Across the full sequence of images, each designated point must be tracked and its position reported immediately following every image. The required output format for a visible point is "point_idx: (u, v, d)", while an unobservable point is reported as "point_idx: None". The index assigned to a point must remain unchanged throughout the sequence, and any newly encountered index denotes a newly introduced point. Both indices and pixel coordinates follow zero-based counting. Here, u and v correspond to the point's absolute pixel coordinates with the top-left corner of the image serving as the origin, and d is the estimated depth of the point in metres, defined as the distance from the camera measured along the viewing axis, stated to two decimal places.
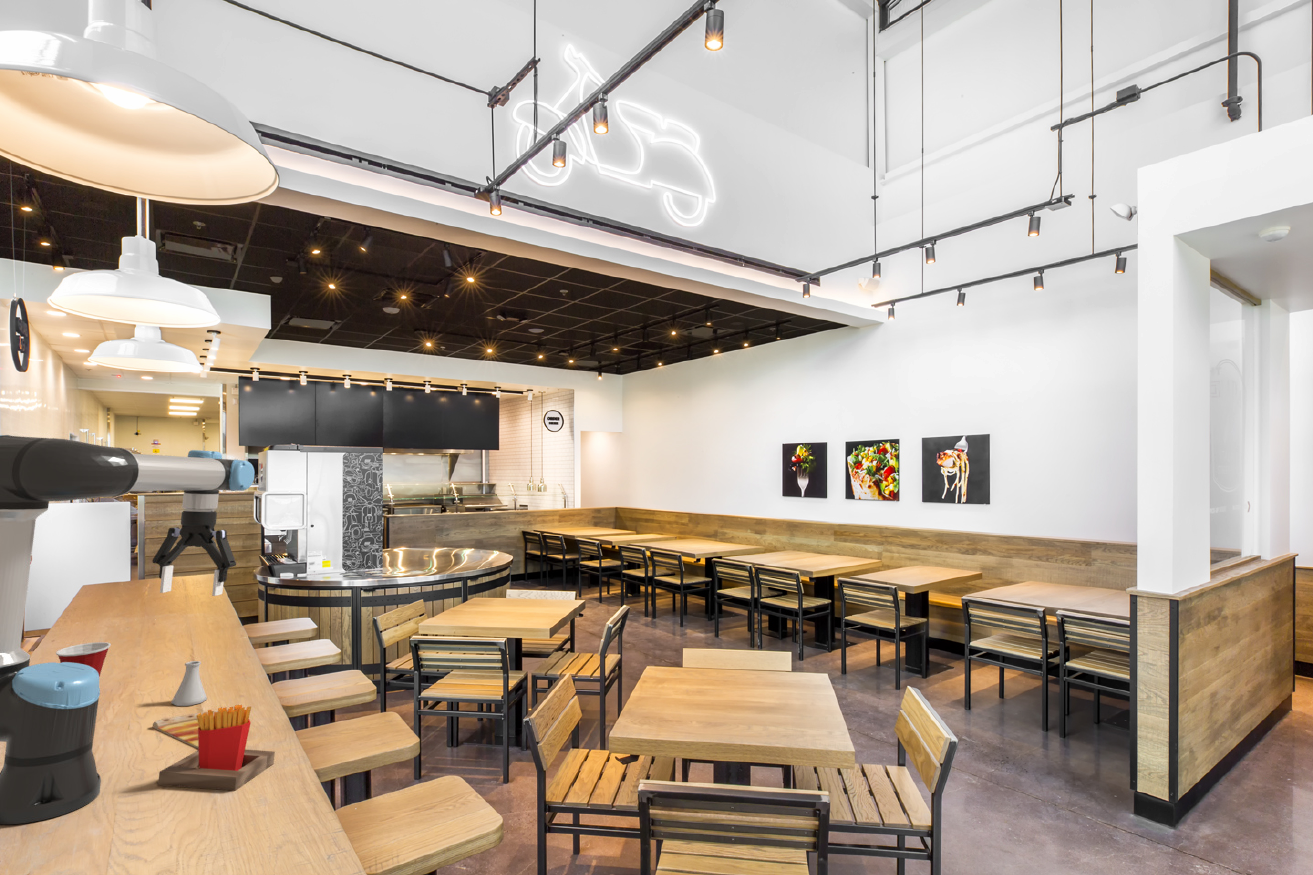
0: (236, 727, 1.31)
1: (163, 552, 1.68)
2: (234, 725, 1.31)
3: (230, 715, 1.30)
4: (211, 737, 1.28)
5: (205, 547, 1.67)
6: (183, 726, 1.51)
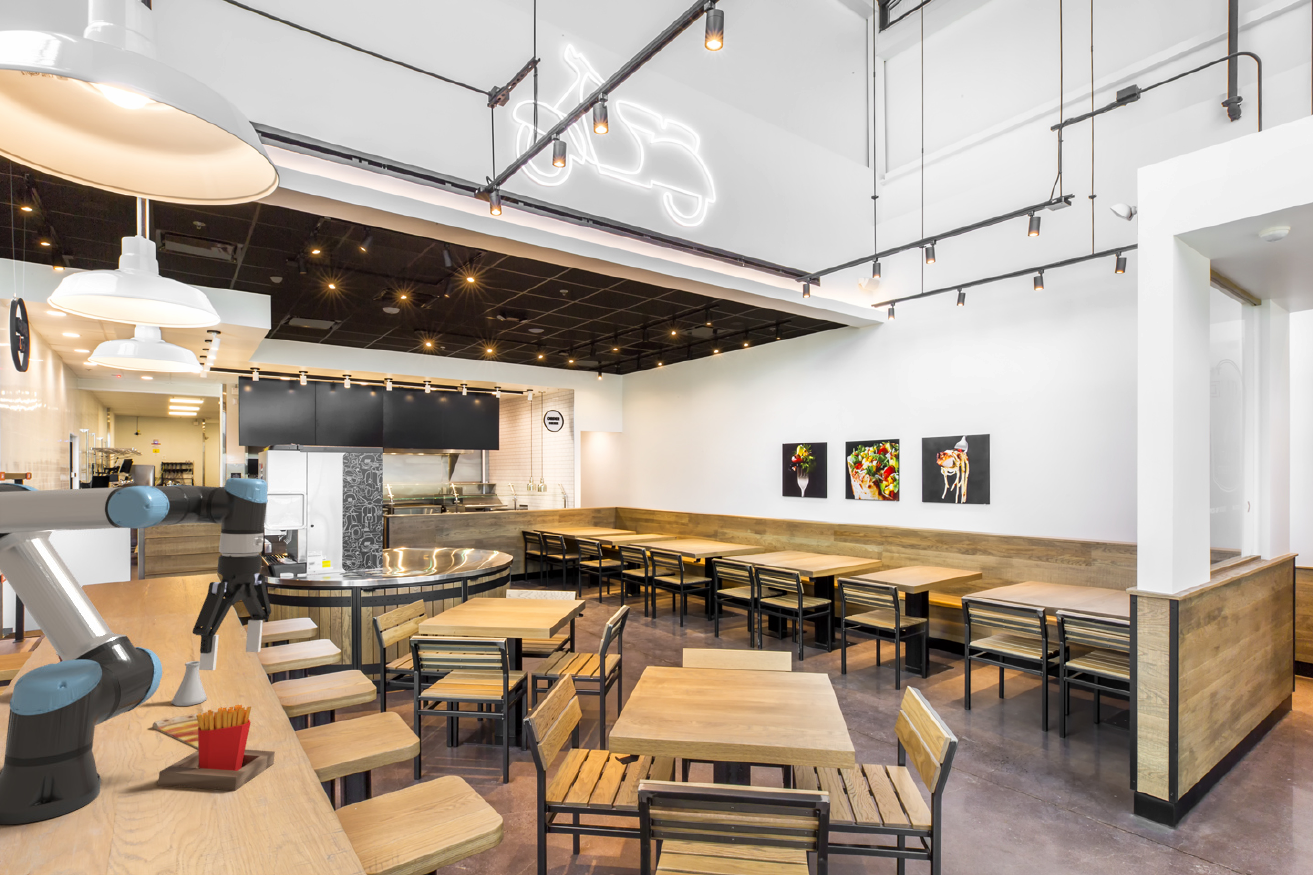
0: (236, 727, 1.31)
1: None
2: (234, 725, 1.31)
3: (230, 715, 1.30)
4: (211, 737, 1.28)
5: None
6: (183, 727, 1.51)
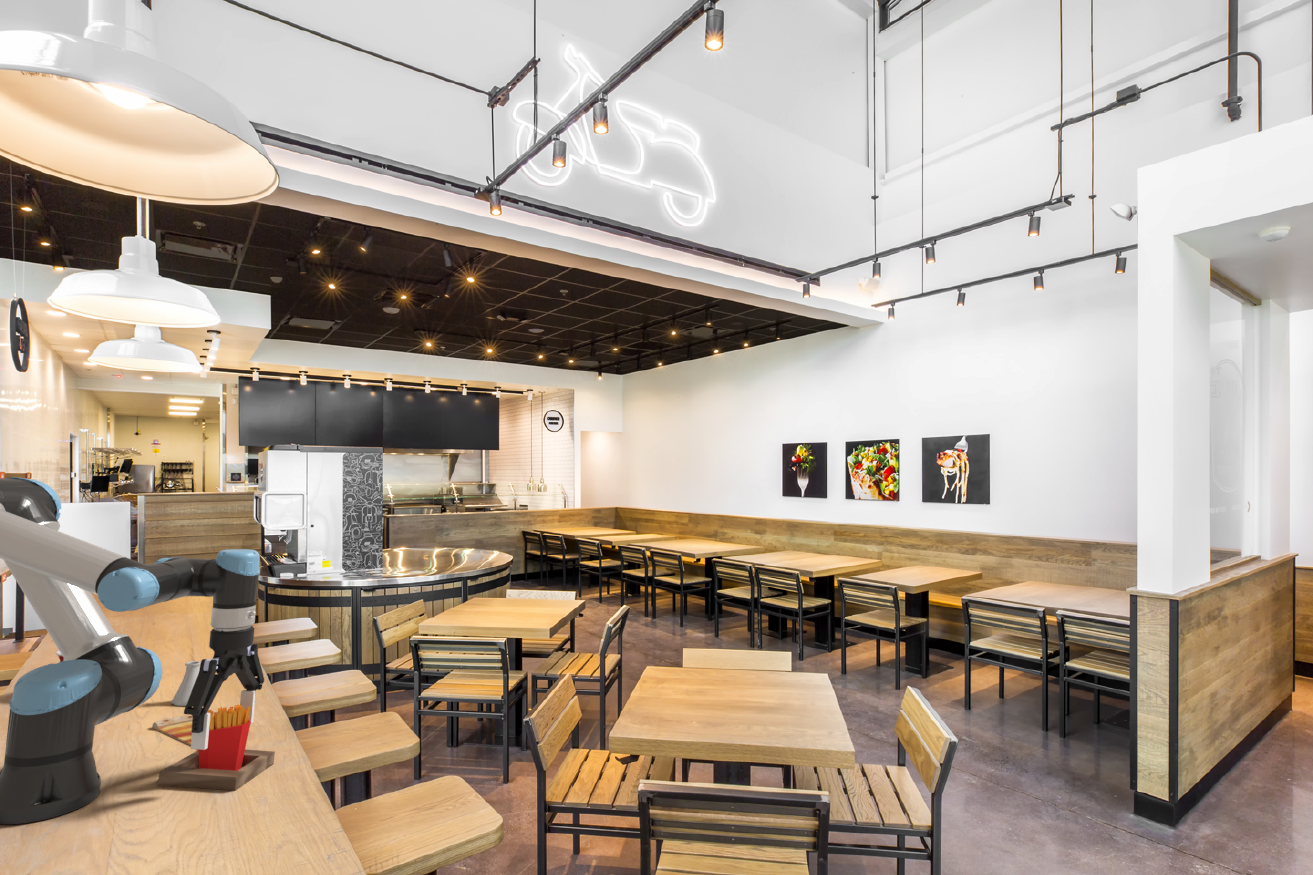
0: (236, 727, 1.31)
1: None
2: (234, 725, 1.31)
3: (230, 715, 1.30)
4: (211, 737, 1.28)
5: None
6: (183, 727, 1.51)
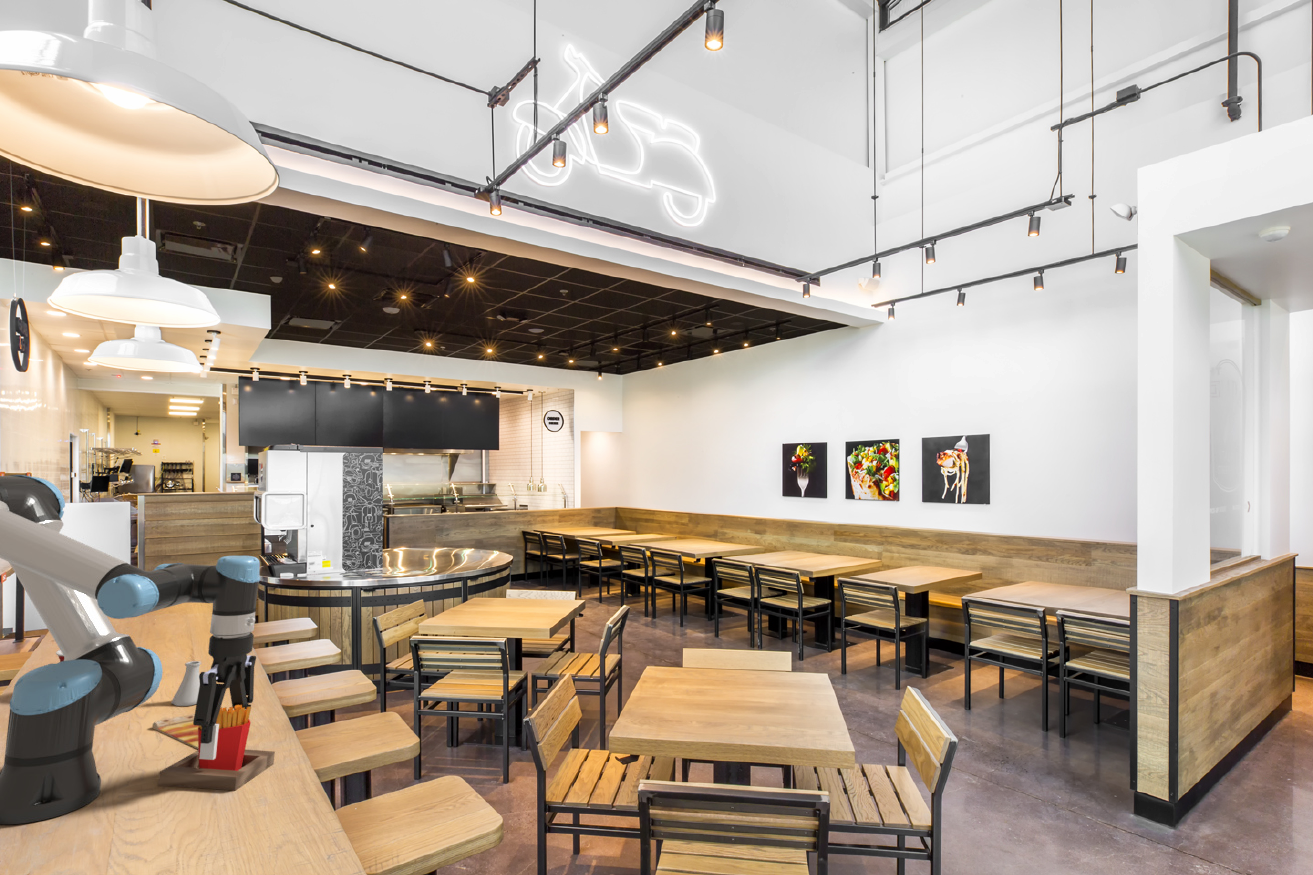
0: (236, 727, 1.31)
1: None
2: (234, 725, 1.31)
3: (230, 715, 1.30)
4: None
5: None
6: (183, 727, 1.51)
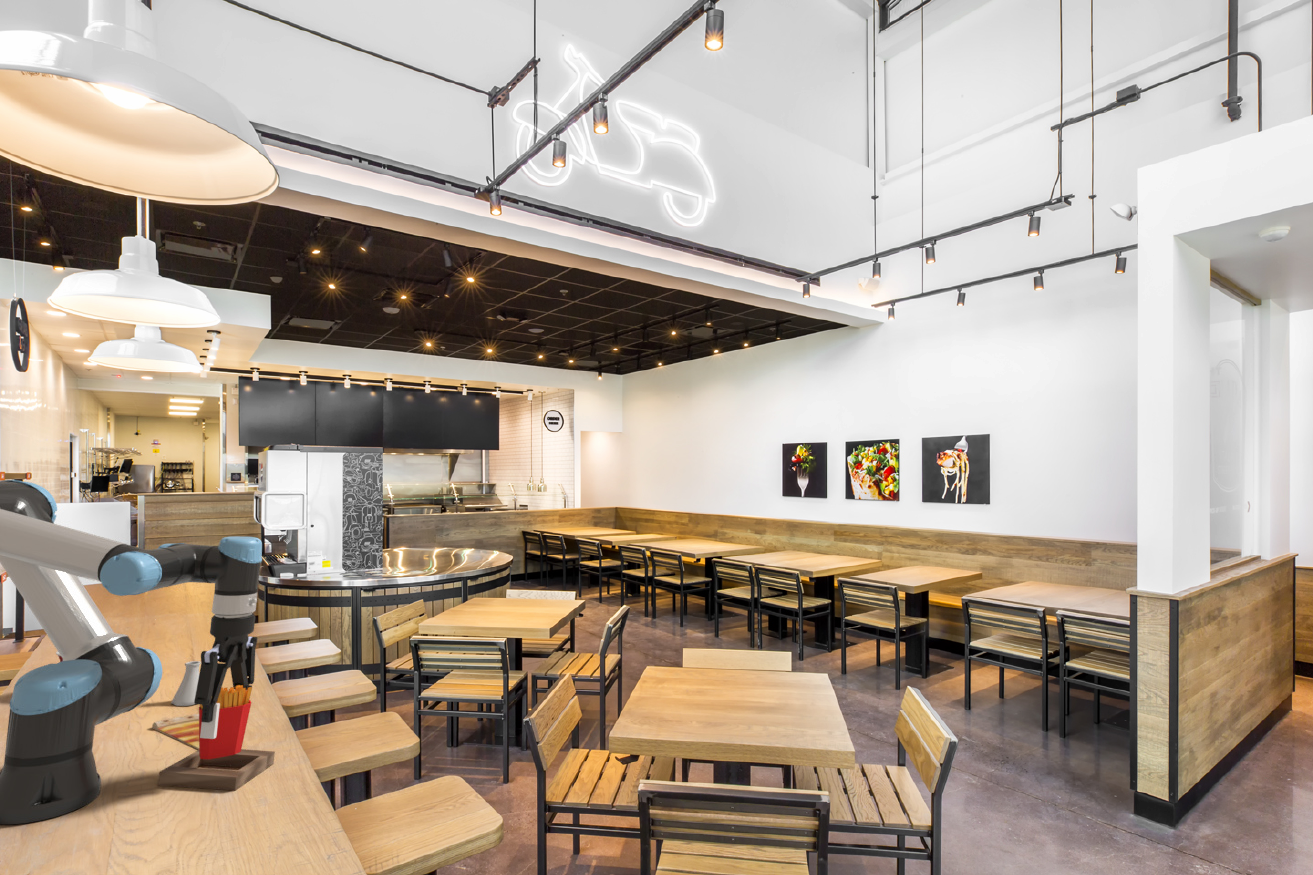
0: (237, 707, 1.31)
1: None
2: (235, 705, 1.31)
3: (231, 695, 1.30)
4: None
5: None
6: (183, 727, 1.51)
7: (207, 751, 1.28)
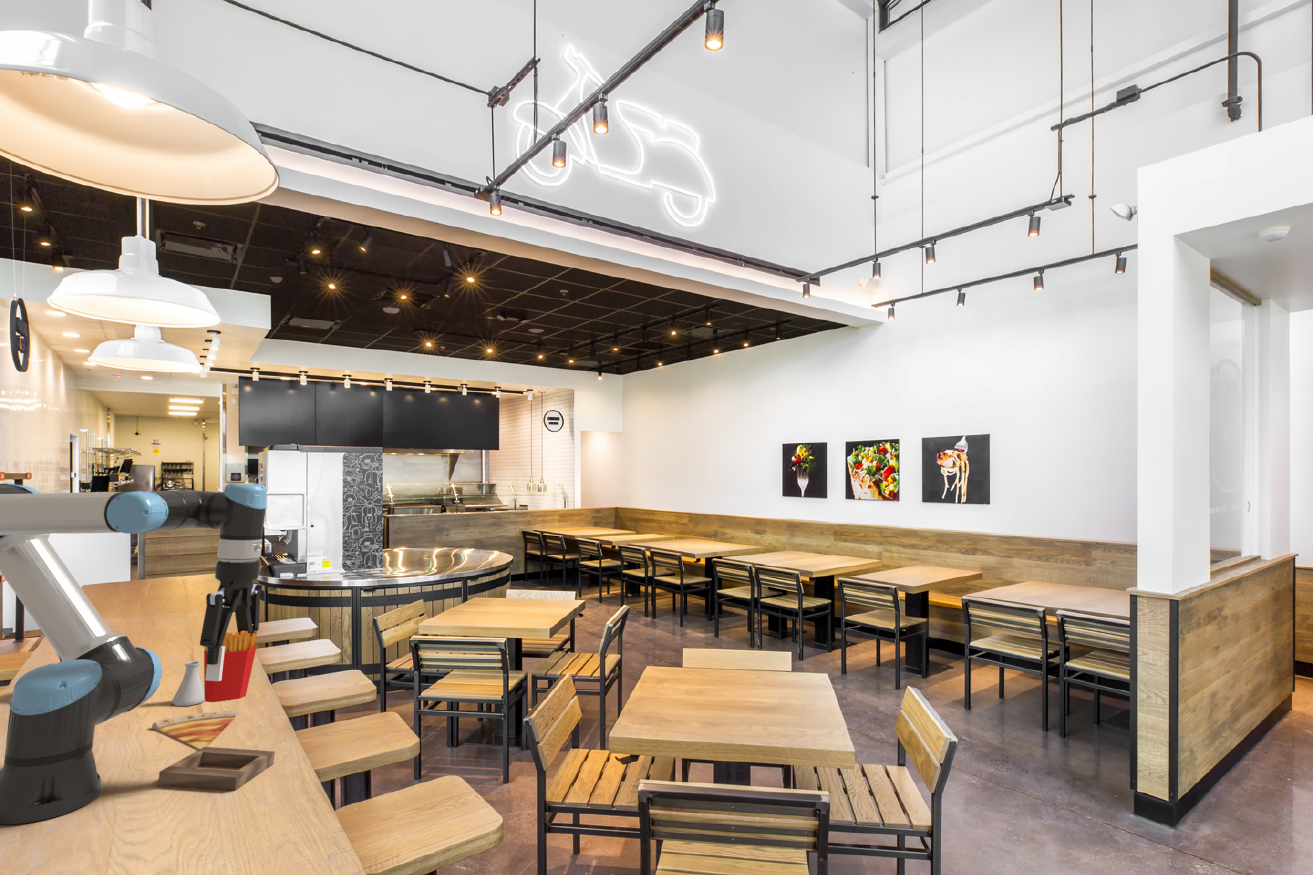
0: (242, 652, 1.32)
1: None
2: (240, 650, 1.32)
3: (236, 639, 1.31)
4: None
5: None
6: (183, 727, 1.51)
7: (213, 694, 1.29)
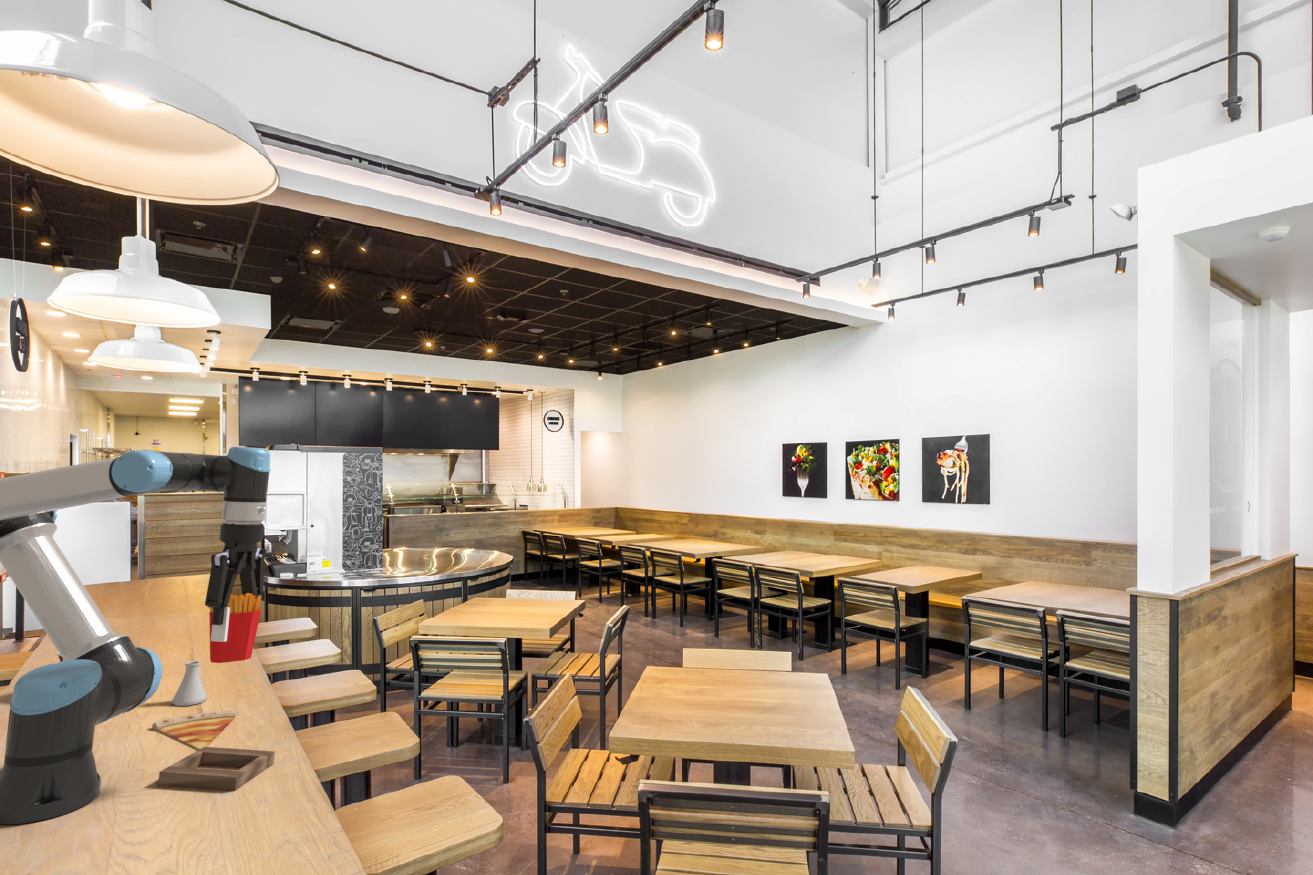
0: (247, 613, 1.32)
1: None
2: (245, 611, 1.32)
3: (241, 601, 1.32)
4: None
5: None
6: (182, 728, 1.51)
7: (218, 655, 1.29)
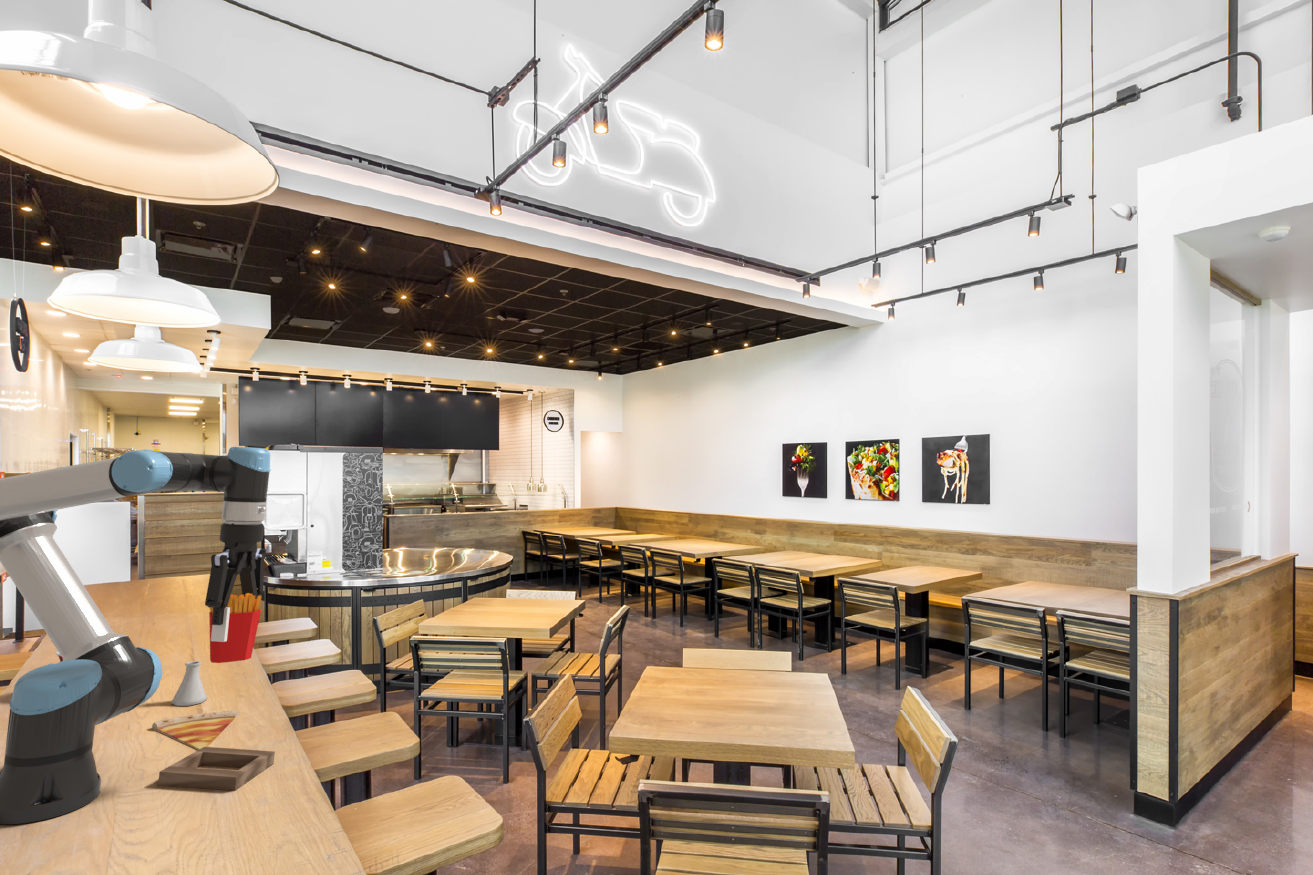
0: (247, 613, 1.32)
1: None
2: (245, 611, 1.32)
3: (241, 601, 1.32)
4: None
5: None
6: (182, 728, 1.51)
7: (218, 655, 1.29)
